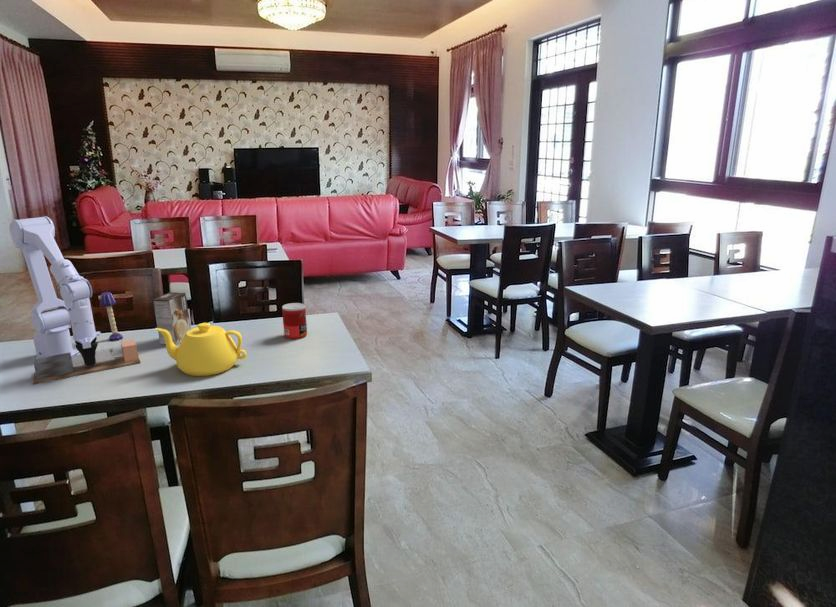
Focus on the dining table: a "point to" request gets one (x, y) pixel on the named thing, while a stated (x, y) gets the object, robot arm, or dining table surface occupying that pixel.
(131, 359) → the peach-orange block
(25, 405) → the dining table surface
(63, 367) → the brown wooden bar
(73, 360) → the grey banded bar
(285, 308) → the canned food
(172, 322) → the coffee box
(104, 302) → the toy lamp
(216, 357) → the teapot
